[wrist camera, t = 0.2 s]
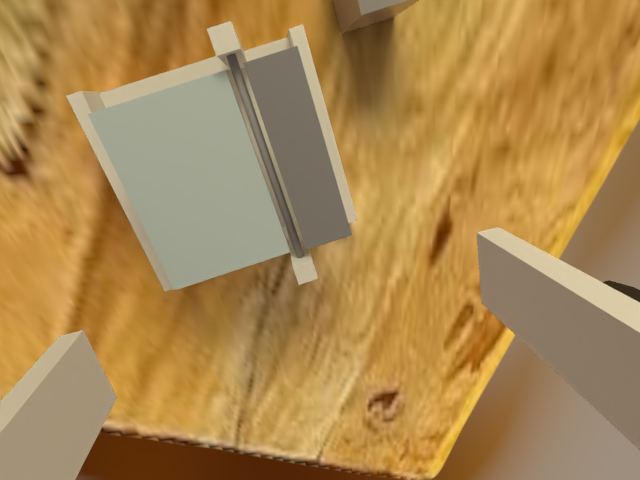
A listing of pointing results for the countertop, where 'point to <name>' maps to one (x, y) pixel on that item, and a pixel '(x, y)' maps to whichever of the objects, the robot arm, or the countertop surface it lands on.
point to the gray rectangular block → (367, 12)
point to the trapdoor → (223, 169)
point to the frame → (232, 61)
